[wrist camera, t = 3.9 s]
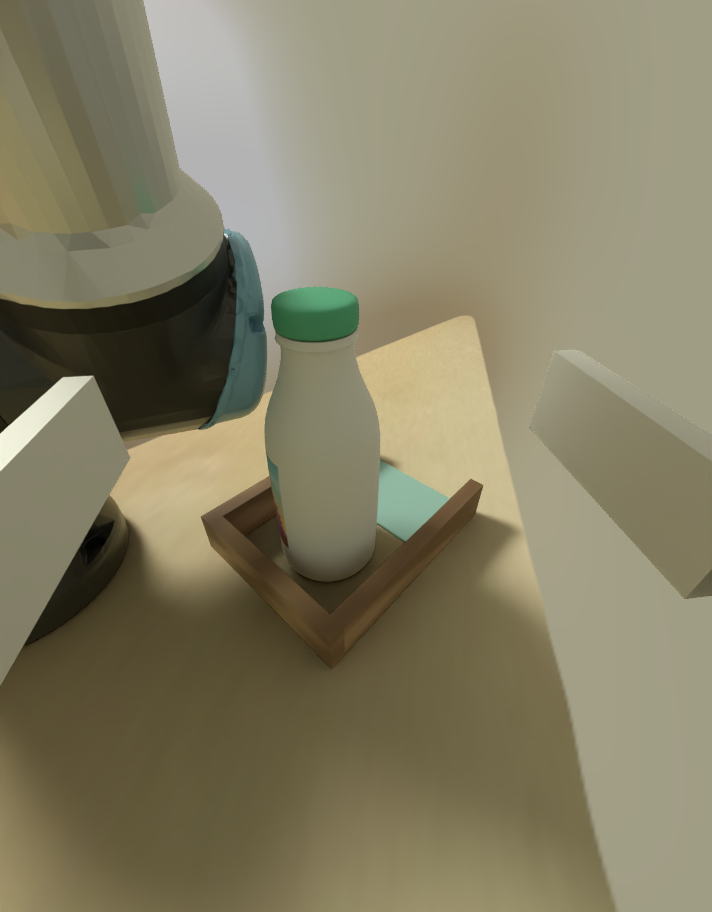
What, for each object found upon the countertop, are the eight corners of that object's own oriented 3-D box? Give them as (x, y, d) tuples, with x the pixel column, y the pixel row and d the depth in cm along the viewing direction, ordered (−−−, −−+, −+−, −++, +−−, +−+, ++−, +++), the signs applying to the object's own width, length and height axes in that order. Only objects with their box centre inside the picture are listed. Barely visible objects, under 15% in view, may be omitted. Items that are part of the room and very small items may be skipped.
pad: (323, 487, 38) (323, 486, 37) (370, 455, 42) (370, 454, 42) (414, 549, 32) (414, 547, 32) (458, 505, 36) (458, 503, 36)
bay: (211, 545, 32) (200, 516, 30) (359, 449, 43) (359, 422, 40) (331, 668, 24) (329, 641, 22) (475, 513, 35) (483, 485, 33)
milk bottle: (389, 530, 33) (411, 287, 21) (348, 601, 28) (344, 331, 16) (315, 501, 36) (295, 272, 24) (263, 561, 31) (204, 305, 18)
